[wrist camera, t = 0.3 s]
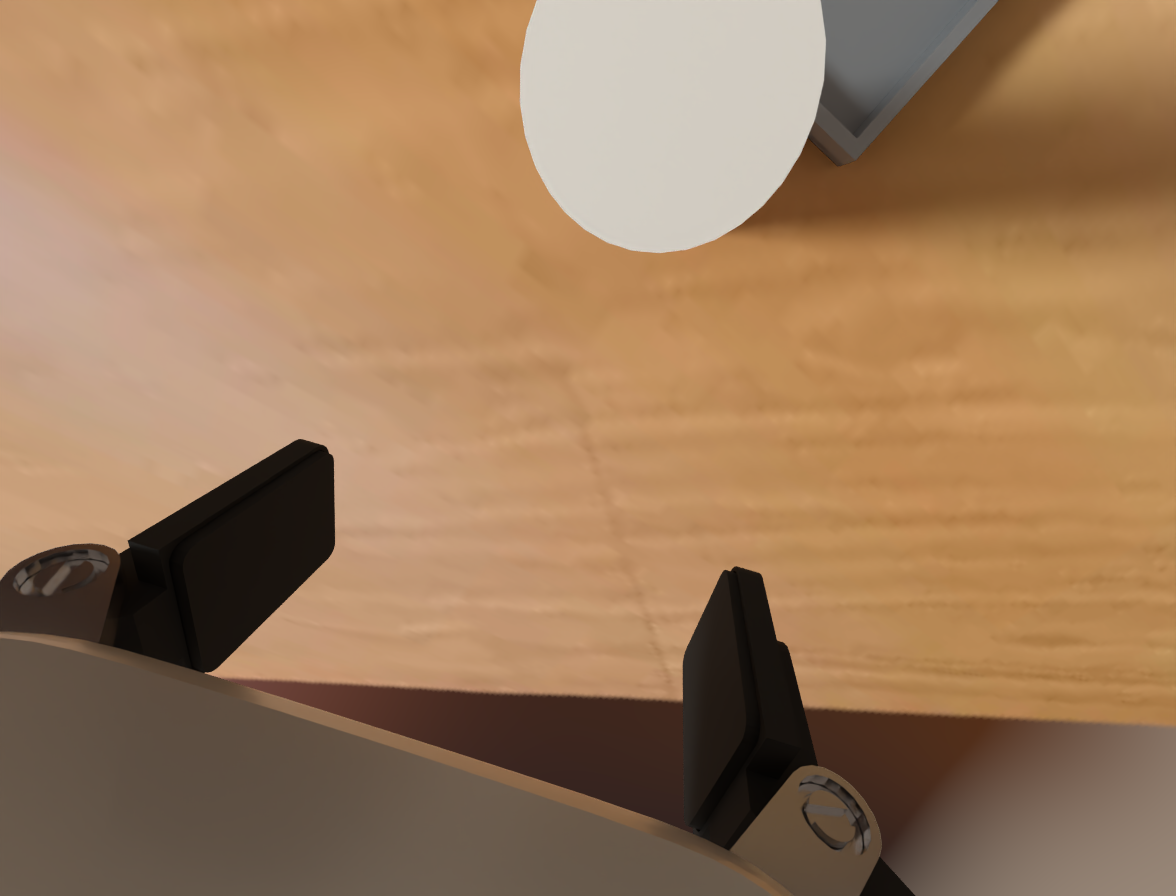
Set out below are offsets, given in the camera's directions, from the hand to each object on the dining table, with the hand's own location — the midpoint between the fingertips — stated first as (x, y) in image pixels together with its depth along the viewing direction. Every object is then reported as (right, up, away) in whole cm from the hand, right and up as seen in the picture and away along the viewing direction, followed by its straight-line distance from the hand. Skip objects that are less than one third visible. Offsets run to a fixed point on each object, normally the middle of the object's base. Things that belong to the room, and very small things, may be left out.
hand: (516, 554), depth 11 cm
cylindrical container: (+8, +21, +23) cm, 32 cm away
